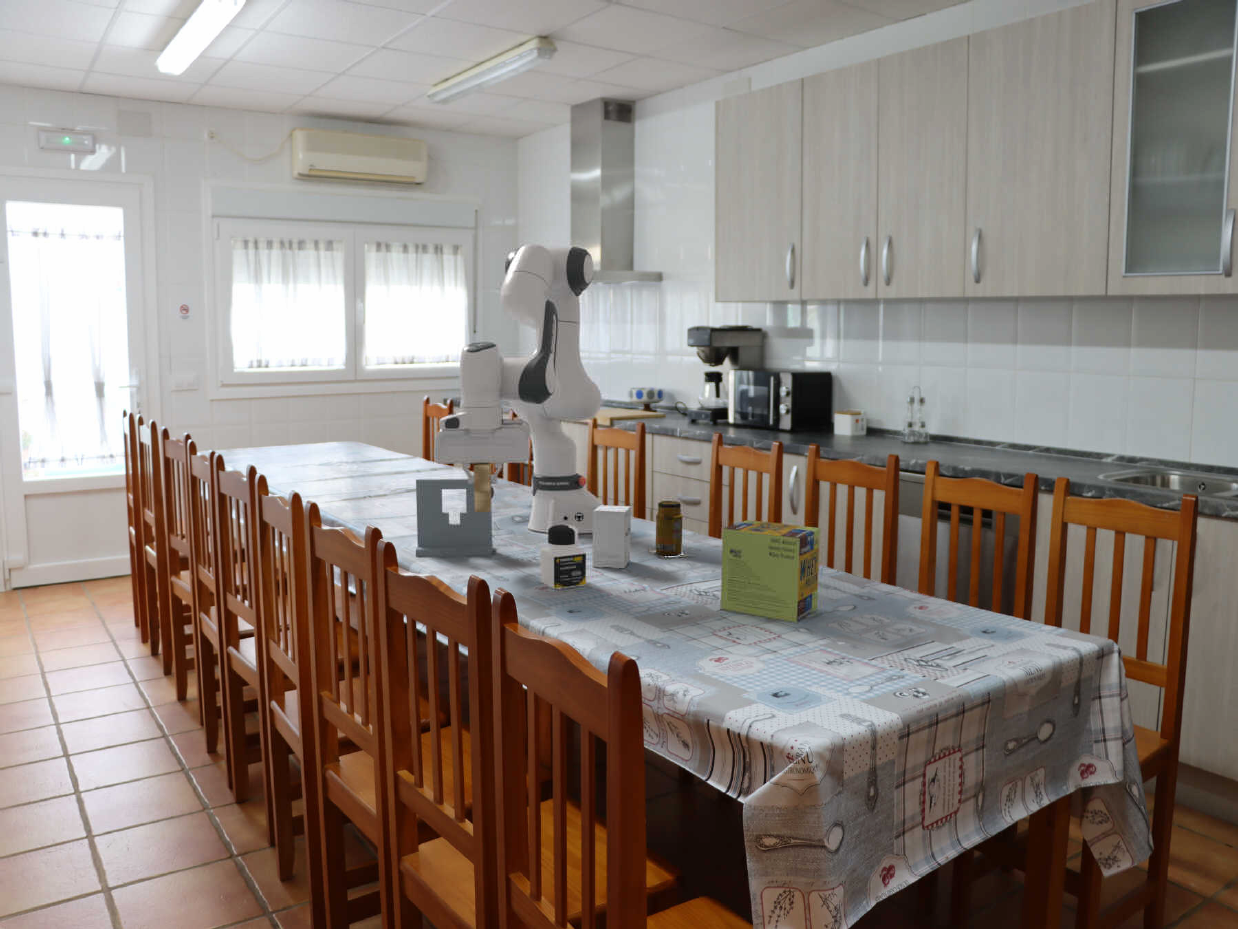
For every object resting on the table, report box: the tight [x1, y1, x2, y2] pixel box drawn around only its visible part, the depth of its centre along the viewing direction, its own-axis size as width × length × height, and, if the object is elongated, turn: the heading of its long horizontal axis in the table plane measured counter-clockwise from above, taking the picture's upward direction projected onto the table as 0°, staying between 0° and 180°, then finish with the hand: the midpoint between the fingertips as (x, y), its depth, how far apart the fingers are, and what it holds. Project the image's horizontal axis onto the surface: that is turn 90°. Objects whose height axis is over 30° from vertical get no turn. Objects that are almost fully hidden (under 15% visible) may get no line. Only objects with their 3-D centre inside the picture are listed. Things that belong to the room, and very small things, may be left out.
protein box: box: [720, 519, 821, 623], centre depth 180 cm, size 10×15×16 cm
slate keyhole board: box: [415, 478, 494, 557], centre depth 225 cm, size 17×8×17 cm, turn 94°
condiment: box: [648, 500, 691, 559], centre depth 224 cm, size 7×8×12 cm
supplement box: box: [592, 505, 632, 569], centre depth 214 cm, size 7×7×13 cm
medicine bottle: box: [540, 525, 587, 590], centre depth 197 cm, size 7×7×12 cm
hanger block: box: [473, 463, 495, 512], centre depth 211 cm, size 4×10×10 cm, turn 4°
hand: (482, 483), depth 209 cm, fingers closed on hanger block, 3 cm apart
